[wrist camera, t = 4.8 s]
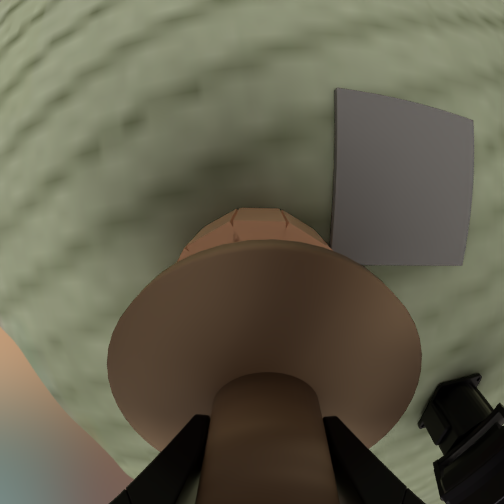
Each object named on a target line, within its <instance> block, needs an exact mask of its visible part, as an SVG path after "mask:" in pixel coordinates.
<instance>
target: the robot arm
mask: <svg viewBox="0 0 504 504" xmlns="http://www.w3.org/2000/svg"><path fill="white" fill-rule="evenodd" d="M481 378H482V376H481V375H480V374H476V375H472V376H469V377H465V378H461V379H458V380H454V381H450V382H446V383H442V384H440V385H439V386H438V387H437V388H436V390H435V393H434V395H433V397H432V399H431V401H430V403H429V405H428V407H427V409H426V411H425V413H424V414H423V416H422V418H421V420H420V422H419V424H418V427H419V428H420V429H422V428H425V427H426V429H427V430H428V432H429V434H430V436H431V438H432V440H433V442H434V444H435V445H439V447H440V449H441V451H442V453H443V455H444V456H442V457H441V458H440V459H439V460H436V461H435V462H433V466H434V473H435V477H436V481H437V485H438V490H439V495H440V499H441V500H442V501H444V502H445V503H446V504H504V426H502V425H503V424H504V406H503V405H502V404H501V403H499V404H498V405H497V406H496V408H495V409H493V408H492V407H491V405H490V404H489V403H488V401H487V400H486V399H485V398H484V396H483V395H482V394H481V392H480V391H479V390H478V389H477V386H478V384H479V382H480V380H481ZM322 419H323V423H324V428H325V432H326V437H327V442H328V447H329V451H330V456H331V461H332V466H333V471H334V476H335V481H336V486H337V491H338V497H339V502H340V504H425V503H424V502H423V501H422V500H421V499H420V498H418V497H417V496H416V495H415V494H414V493H413V492H412V491H411V490H410V489H409V488H407V487H406V486H405V485H404V484H403V483H402V482H401V481H400V480H399V479H398V478H397V477H396V476H395V475H394V474H393V473H392V472H391V471H390V470H389V469H388V468H387V467H386V466H385V465H384V464H383V463H382V462H381V461H380V460H379V459H378V458H377V457H376V456H375V455H374V454H373V453H372V452H371V451H370V450H369V449H368V448H367V447H366V446H365V445H364V444H363V443H362V442H361V441H360V440H359V439H358V438H357V437H356V435H355V434H354V433H353V432H352V431H351V430H350V429H349V428H348V427H347V426H346V425H345V424H344V423H343V422H342V421H341V420H340V419H339V418H338V417H337V416H325V417H323V418H322ZM209 422H210V417H209V415H203V414H195V415H194V416H193V417H192V418H191V419H190V420H189V422H188V423H187V424H186V425H185V426H184V427H183V428H182V429H181V431H180V432H179V433H178V434H177V435H176V436H175V437H174V438H173V439H172V440H171V442H170V443H169V444H168V445H167V446H166V447H165V448H164V449H163V450H162V451H161V452H160V453H159V454H158V456H157V457H156V458H155V459H154V460H153V461H152V462H151V463H150V464H149V465H148V466H147V467H146V468H145V469H144V470H143V471H142V472H141V473H140V474H139V475H138V476H137V477H136V478H135V479H134V480H133V481H132V482H131V483H130V484H129V485H128V487H126V490H125V489H124V490H123V491H122V492H121V493H120V494H119V495H118V496H117V497H116V498H115V499H114V500H113V501H111V502H110V503H109V504H195V502H196V496H197V490H198V484H199V479H200V473H201V467H202V461H203V456H204V450H205V445H206V439H207V434H208V428H209ZM406 488H407V489H406Z"/></svg>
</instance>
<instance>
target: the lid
mask: <svg viewBox="0 0 504 504" xmlns="http://www.w3.org/2000/svg"><path fill="white" fill-rule="evenodd" d="M421 360H422V352H421V345H420V338H419V335H418V332H417V329H416V326H415V323H414V321H413V320H412V318H411V316H410V314H409V313H408V311H407V309H406V307H405V306H404V305H403V304H402V303H401V302H400V300H399V299H398V298H397V297H396V296H395V295H394V293H393V292H392V291H391V290H390V289H389V288H388V287H387V286H386V285H385V284H384V283H383V282H382V281H381V280H380V279H379V278H377V277H376V276H375V275H374V274H373V273H371V272H370V271H369V270H368V269H366V268H365V267H364V266H362V265H360V264H359V263H357V262H355V261H353V260H352V259H350V258H348V257H346V256H344V255H342V254H339V253H337V252H334V251H332V250H329V249H326V248H324V247H320V246H316V245H311V244H307V243H303V242H297V241H287V240H276V239H268V240H246V241H240V242H234V243H228V244H222V245H219V246H216V247H213V248H209V249H206V250H203V251H200V252H197V253H195V254H193V255H191V256H189V257H187V258H185V259H182V260H180V261H178V262H177V263H175V264H174V265H172V266H171V267H169V268H168V269H166V270H165V271H163V272H162V273H160V274H159V275H158V276H157V277H156V278H155V279H153V280H152V281H151V282H150V283H149V284H148V285H147V286H146V287H145V288H144V289H143V290H142V291H141V292H140V294H139V295H138V296H137V297H136V298H135V299H134V300H133V301H132V303H131V304H130V305H129V307H128V308H127V309H126V311H125V312H124V313H123V315H122V316H121V317H120V319H119V321H118V323H117V325H116V327H115V329H114V331H113V334H112V337H111V341H110V344H109V348H108V358H107V369H108V379H109V383H110V387H111V390H112V394H113V396H114V398H115V401H116V403H117V405H118V407H119V409H120V410H121V412H122V414H123V415H124V417H125V418H126V420H127V421H128V422H129V423H130V425H131V426H132V427H133V428H134V430H135V431H136V432H137V433H138V434H139V435H140V436H141V437H142V438H143V439H144V440H145V441H147V442H148V443H149V444H150V445H152V446H153V447H154V448H155V449H157V450H158V451H160V452H161V451H162V450H163V449H164V448H165V447H166V446H167V445H168V444H169V443H170V442H171V440H172V439H173V438H174V437H175V436H176V435H177V434H178V433H179V432H180V431H181V429H182V428H183V427H184V426H185V425H186V424H187V423H188V422H189V420H190V419H191V418H192V417H193V416H194V415H195V414H203V415H209V417H210V422H209V428H208V434H207V439H206V445H205V450H204V456H203V461H202V467H201V473H200V479H199V484H198V490H197V496H196V502H195V504H340V502H339V497H338V491H337V486H336V481H335V476H334V471H333V466H332V461H331V456H330V451H329V447H328V442H327V437H326V432H325V428H324V423H323V419H322V418H323V417H325V416H337V417H338V418H339V419H340V420H341V421H342V422H343V423H344V424H345V425H346V426H347V427H348V428H349V429H350V430H351V431H352V432H353V433H354V434H355V435H356V437H357V438H358V439H359V440H360V441H361V442H362V443H363V444H364V445H365V446H366V447H367V448H368V449H369V448H370V447H372V446H373V445H374V444H376V443H377V442H378V441H379V440H380V439H382V438H383V437H384V436H385V435H386V434H387V433H388V432H389V431H390V430H391V429H392V428H393V426H394V425H395V424H396V423H397V422H398V421H399V419H400V418H401V416H402V415H403V414H404V412H405V411H406V409H407V407H408V405H409V404H410V402H411V400H412V398H413V396H414V393H415V390H416V388H417V385H418V381H419V377H420V372H421Z"/></svg>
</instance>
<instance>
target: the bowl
mask: <svg viewBox="0 0 504 504" xmlns="http://www.w3.org/2000/svg"><path fill="white" fill-rule="evenodd" d="M268 239H276V240H287V241H297V242H303V243H307V244H311V245H316V246H320V247H324V248H326V249H329V250H332V249H331V248H330V247H329V246H328V245H327V243H326V242H325V241H324V240H323V239H322V238H321V237H320V235H319V234H318V233H317V232H316V231H315V230H314V229H312V228H311V227H309V226H308V225H306V224H305V223H303V222H301V221H300V220H298V219H297V218H295V217H293V216H292V215H290V214H289V213H287V212H285V211H284V210H281V211H280V209H277V208H239V210H238V209H235V210H233V211H231V212H229V213H228V214H226V215H224V216H222V217H221V218H219V219H217V220H215V221H214V222H212V223H210V224H208V225H207V226H205V227H203V228H202V229H201V230H200V231H199V232H198V234H197V235H196V236H195V237H194V238H193V239H192V240H191V241H190V242H189V243H188V244H187V246H186V247H185V248H184V249H183V251H182V253H181V255H180V257H179V259H178V261H180V260H182V259H185V258H187V257H189V256H191V255H193V254H195V253H197V252H200V251H203V250H206V249H209V248H213V247H216V246H219V245H222V244H228V243H234V242H240V241H246V240H268ZM332 251H333V250H332ZM178 261H177V262H178Z"/></svg>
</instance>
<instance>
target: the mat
mask: <svg viewBox="0 0 504 504" xmlns="http://www.w3.org/2000/svg"><path fill="white" fill-rule="evenodd" d="M334 93H335V153H334V184H333V204H332V220H331V233H330V246H329V247H330V248H331V249H332V250H333V251H334V252H337V253H339V254H342V255H344V256H346V257H348V258H350V259H352V260H353V261H355V262H357V263H359V264H360V265H438V266H462V264H463V259H464V254H465V248H466V242H467V236H468V229H469V221H470V213H471V203H472V191H473V174H474V126H473V120H471V119H468V118H465V117H462V116H459V115H456V114H453V113H450V112H447V111H444V110H440V109H437V108H433V107H430V106H426V105H423V104H419V103H415V102H411V101H407V100H402V99H398V98H394V97H389V96H384V95H379V94H374V93H368V92H362V91H356V90H350V89H343V88H336V89H335V90H334Z"/></svg>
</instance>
